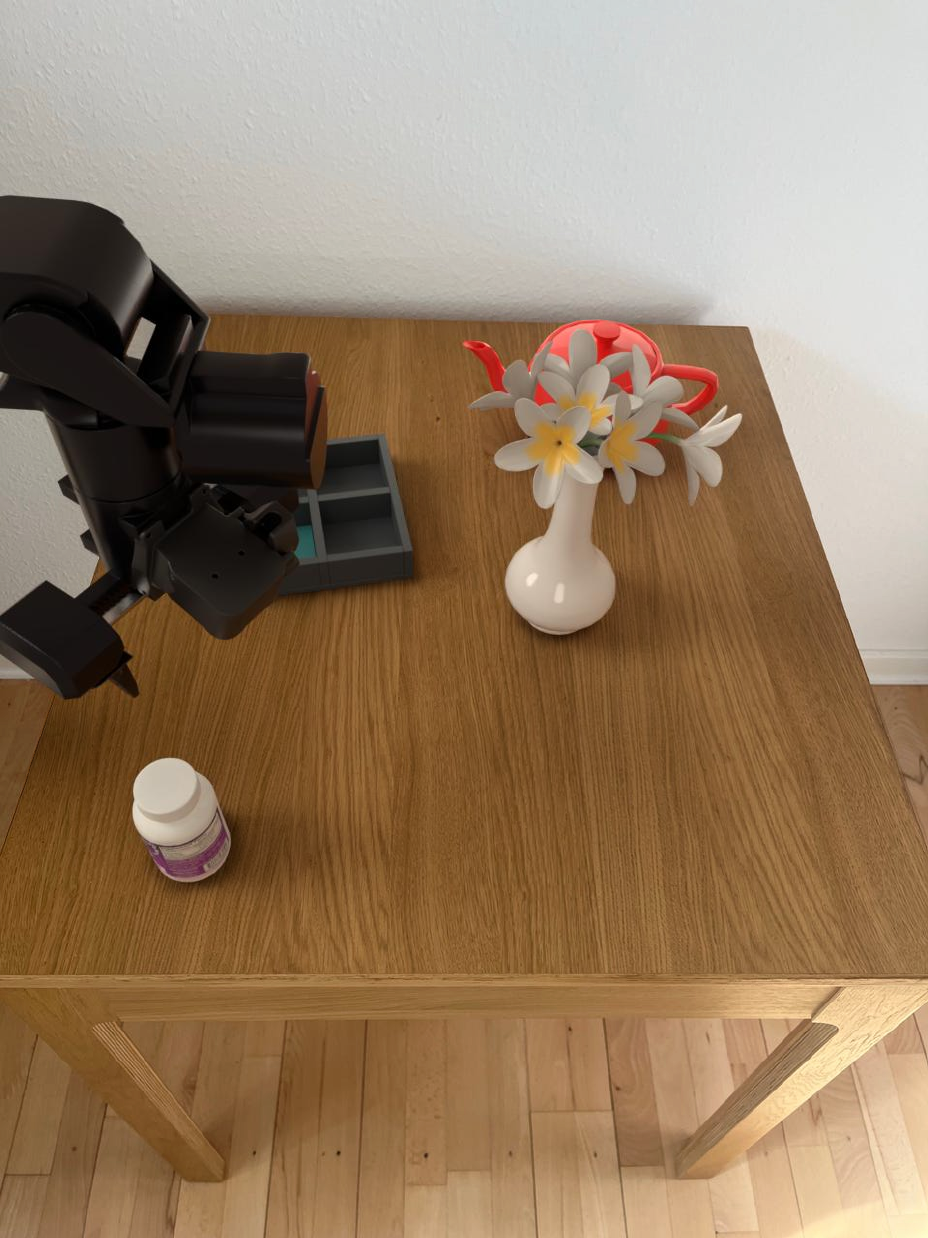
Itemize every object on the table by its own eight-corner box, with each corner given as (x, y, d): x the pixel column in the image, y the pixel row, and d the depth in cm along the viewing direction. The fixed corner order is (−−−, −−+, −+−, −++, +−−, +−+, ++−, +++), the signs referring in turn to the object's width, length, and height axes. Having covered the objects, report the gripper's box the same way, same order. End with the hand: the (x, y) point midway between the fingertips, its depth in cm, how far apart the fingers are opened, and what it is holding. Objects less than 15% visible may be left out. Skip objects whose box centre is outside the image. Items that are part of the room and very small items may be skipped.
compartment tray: (236, 601, 81) (229, 574, 78) (227, 479, 90) (220, 450, 87) (413, 578, 83) (413, 550, 80) (386, 461, 92) (385, 432, 90)
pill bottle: (149, 828, 68) (115, 760, 60) (223, 805, 69) (198, 736, 61) (162, 896, 65) (127, 834, 57) (239, 871, 66) (215, 807, 58)
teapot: (696, 391, 101) (725, 290, 91) (709, 492, 91) (742, 391, 82) (464, 373, 101) (469, 271, 92) (452, 472, 92) (456, 369, 82)
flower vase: (678, 667, 78) (766, 435, 59) (457, 663, 78) (470, 427, 58) (658, 552, 86) (728, 313, 67) (457, 547, 86) (468, 305, 66)
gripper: (96, 657, 41) (170, 819, 53) (362, 429, 51) (373, 610, 63) (-69, 545, 44) (36, 721, 57) (209, 353, 54) (248, 538, 67)
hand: (185, 645), depth 61 cm, fingers open, 9 cm apart
